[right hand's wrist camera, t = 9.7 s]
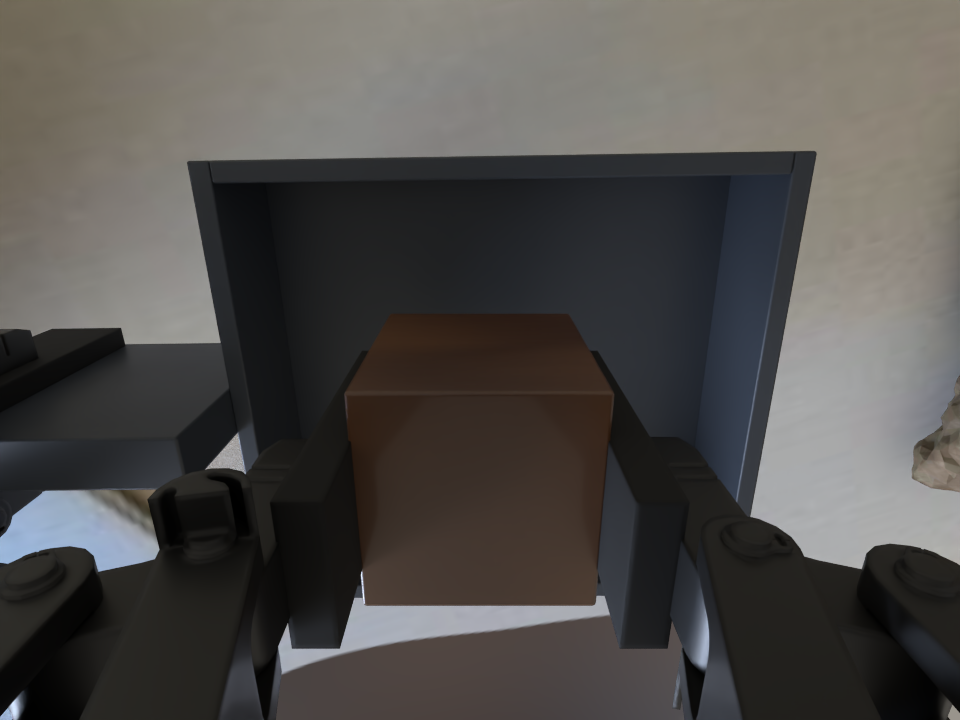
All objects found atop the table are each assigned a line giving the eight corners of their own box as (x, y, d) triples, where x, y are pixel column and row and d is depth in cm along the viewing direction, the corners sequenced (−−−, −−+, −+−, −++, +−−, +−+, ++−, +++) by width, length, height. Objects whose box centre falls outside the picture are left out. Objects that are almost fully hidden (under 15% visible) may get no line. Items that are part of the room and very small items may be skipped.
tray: (740, 152, 19) (902, 149, 12) (690, 515, 25) (780, 671, 17) (-25, 164, 20) (-338, 169, 12) (85, 521, 25) (-84, 678, 18)
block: (569, 312, 14) (616, 392, 9) (560, 470, 15) (596, 607, 11) (389, 312, 14) (342, 392, 9) (398, 470, 15) (362, 607, 11)
